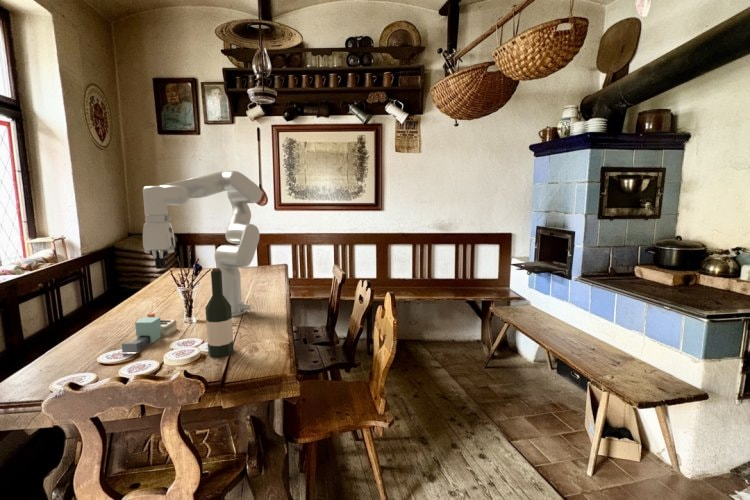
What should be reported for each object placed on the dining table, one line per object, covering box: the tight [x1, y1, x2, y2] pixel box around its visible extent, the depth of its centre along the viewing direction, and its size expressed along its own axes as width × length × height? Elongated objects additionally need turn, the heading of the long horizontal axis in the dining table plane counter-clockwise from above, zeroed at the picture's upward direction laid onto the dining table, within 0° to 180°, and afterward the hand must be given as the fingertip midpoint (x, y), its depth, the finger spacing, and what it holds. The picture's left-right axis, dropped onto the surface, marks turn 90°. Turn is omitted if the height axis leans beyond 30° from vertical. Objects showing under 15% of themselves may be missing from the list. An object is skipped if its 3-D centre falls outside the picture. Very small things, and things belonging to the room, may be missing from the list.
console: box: [160, 319, 178, 337], centre depth 161 cm, size 10×8×5 cm
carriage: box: [134, 316, 162, 344], centre depth 152 cm, size 6×6×8 cm
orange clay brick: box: [147, 312, 156, 317], centre depth 161 cm, size 2×1×4 cm
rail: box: [121, 336, 151, 353], centre depth 148 cm, size 5×17×4 cm, turn 1°
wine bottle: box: [205, 267, 235, 359], centre depth 139 cm, size 8×8×30 cm
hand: (160, 268), depth 153 cm, fingers closed
